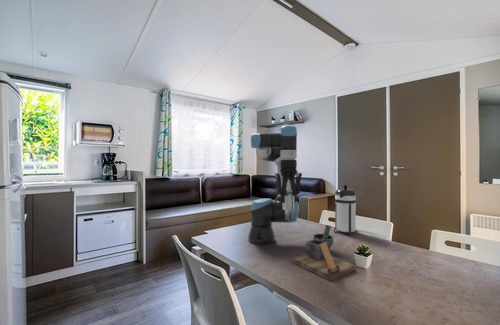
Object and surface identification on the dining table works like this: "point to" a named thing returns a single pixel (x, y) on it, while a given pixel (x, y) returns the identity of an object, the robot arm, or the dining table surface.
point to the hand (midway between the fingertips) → (288, 209)
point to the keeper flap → (328, 257)
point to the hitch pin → (289, 204)
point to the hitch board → (321, 262)
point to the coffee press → (345, 210)
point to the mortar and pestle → (325, 236)
